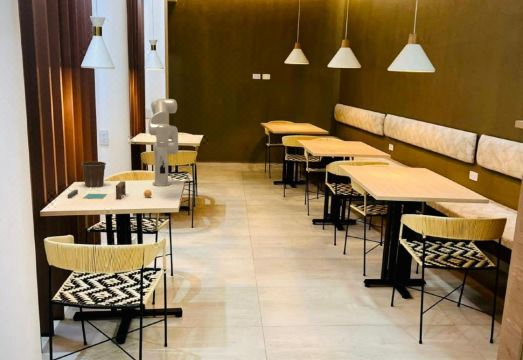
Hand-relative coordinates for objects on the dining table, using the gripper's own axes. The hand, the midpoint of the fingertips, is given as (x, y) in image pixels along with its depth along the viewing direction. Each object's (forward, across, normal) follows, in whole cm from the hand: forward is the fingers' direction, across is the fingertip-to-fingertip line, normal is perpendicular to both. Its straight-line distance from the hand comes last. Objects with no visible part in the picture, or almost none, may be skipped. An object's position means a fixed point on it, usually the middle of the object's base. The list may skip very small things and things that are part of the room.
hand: (162, 173), depth 312 cm
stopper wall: (+16, 0, -57) cm, 59 cm away
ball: (+13, 0, -10) cm, 17 cm away
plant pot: (+16, -32, -52) cm, 62 cm away
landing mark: (+16, 0, -43) cm, 45 cm away
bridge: (+16, 0, -27) cm, 31 cm away
